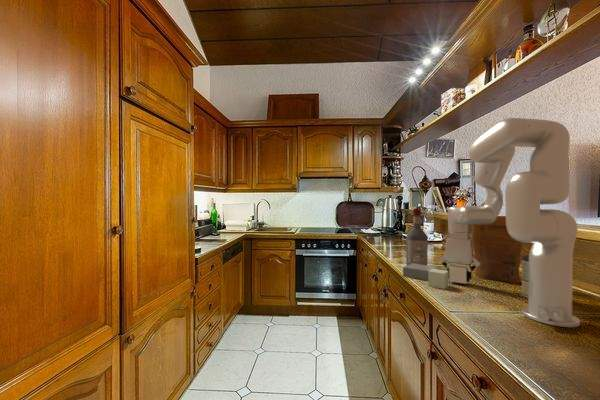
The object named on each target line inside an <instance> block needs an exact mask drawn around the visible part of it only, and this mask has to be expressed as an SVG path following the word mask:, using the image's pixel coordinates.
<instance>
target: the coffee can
mask: <svg viewBox="0 0 600 400" xmlns="http://www.w3.org/2000/svg"><path fill="white" fill-rule="evenodd" d="M520 259H521V296H522V297H525V298H527V299H528V296H529V254H528V255H521V257H520Z"/></svg>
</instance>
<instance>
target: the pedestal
mask: <svg viewBox="0 0 600 400" xmlns="http://www.w3.org/2000/svg"><path fill="white" fill-rule="evenodd" d="M431 269H439V270H440V267H439V266H436V265H435V266H434V265H429V264H427V265H422V264H415V263H411V264H409V265H405V266H403V267H402V276H403V277H406V278H410V277H411V279H416V280H417V279H418V280H421V281H426V282H428V271H430V270H431Z"/></svg>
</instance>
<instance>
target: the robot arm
mask: <svg viewBox="0 0 600 400" xmlns="http://www.w3.org/2000/svg"><path fill="white" fill-rule="evenodd" d="M570 140H571V138H570V133H569V130H568V129H567V127H566V126H565V125H564V124H562V123H560V122H558V121H553V120H548V119H537V118H523V117H522V118H521V117H509V118H504V119H501V120H500V121H498V123H496V124H494V125H493V126H492V127H490V128H489V129H487V130H486V131H485V132H484V133H482V134H481V135H480V136H479V137H477V138H476V139H475V140H474V141H473V142H472V144H471V146H470V148H469V150H468V156H469V159H470V160H471V161H472V162H473V163H478V164H479V165H478V168H477V170H476V173H475V176H473V181H474V183H476V184H477V185H478V186H480V187H482V188H484V189H485V190H486V199H485V202H484V203H483V205H463V206H462V205H461V206H450V207H448V209H447V224H448V225H447V236H448V238H446V240H445V248H444V253H443V254H442V255H441V256H440V257H439V258H438V262H440V263H441V264H442V266H444V268H445V270H446V271H448V280H449V266H451V265H452V264H455V265H464V266H466V268H467V283H468V282H470V281H471V280H472V271H474V270H476V267H478V266H479V265H480V264H481V263H480V262H479V261H478V260H477V259H476V258H475V257H474V249H473V241H472V237H473V234H472V233H470V229H469V228H470V226H471V225H488V224H491V223H493V222H494V221H495V220H496V218H497V217H498V216H500V212H501V211H502V209H503V207H504V206H505V216H506V227H507V231H508V233H509V235H510V236H511V237H512V238H513V239H515V240H516V241H519V242H523V243H527V244H529V243H531V247H530V250H529V253H528V255H529V296H528V298H527V299H528V302H527V303H528V306H525V307H524V306H523V307H522V308H521V313H522V314H523V315H524V316H525V317H527V318H528V319H531V320H534V321H535V322H538V323H541V324H546V325H550V326H555V327H561V328H562V327H563V328H577V327H579V326H580V325H581V320H580V319H579V317H577V316H575V315H573V262H574V260H573V259H574V256H573V255H574V247H575V243H576V238H577V234H578V224H577V221H576V219H575V218H574V217H573V216H572V215H571V214H570V213H569V212H567V211H564V210H560V209H553V208H548V209H547V208H545V209H544V208H541V205H545V206H546V205H548V206H549V205H557V204H561V203H564V202H565V200H567V198H568V197H569V194H570V164H569V163H570V162H569V152H570ZM516 147H517V148H521V147H523V148H534V150H532V151H533V152H532V153H531V156H530V158H529V159H530V160H529V165H530V166H529V167H530V169H529V171H519V172H517V173H515V174H514V175H513V176H511V177H510V179H509V180H508V181H507V184H506V187H505V192H504V194H503V191H502V188H501V184H502V182H503V180H504V178H505V175H506V173H507V171H508V169H509V166H510V164H511V162H512V160H513V157H514V155H515V153H516ZM504 199H505V200H504ZM504 202H505V205H504ZM503 205H504V206H503ZM470 238H471V239H470ZM472 263H475V264H472ZM471 265H472V266H471Z"/></svg>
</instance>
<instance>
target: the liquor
mask: <svg viewBox="0 0 600 400" xmlns="http://www.w3.org/2000/svg"><path fill="white" fill-rule="evenodd" d="M412 210H413V211H412V216H413V220H412V221H413V224H412V228H411V229H409V231H408V232H407V233H406V236H405V237H406V238H405V239H406V245H405V248H406V249H405V251H406V252H405V257H406V259H405V263H406V264H405V266H407V265H409V264H411V263H415V264H422V265H428V242H429V239H428V235H427V234H426V232H425V231H424V230H423V228H422V226H421V214H422V213H421V208H413V209H412Z"/></svg>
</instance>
